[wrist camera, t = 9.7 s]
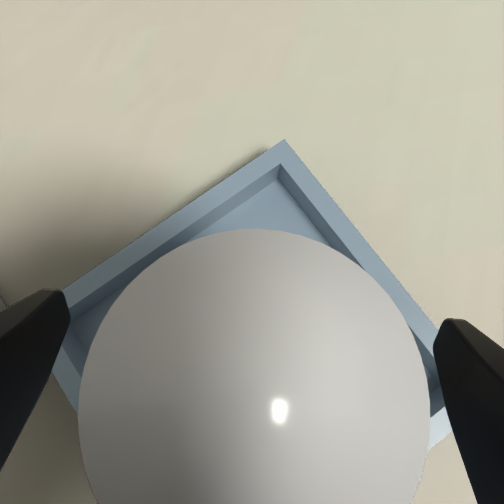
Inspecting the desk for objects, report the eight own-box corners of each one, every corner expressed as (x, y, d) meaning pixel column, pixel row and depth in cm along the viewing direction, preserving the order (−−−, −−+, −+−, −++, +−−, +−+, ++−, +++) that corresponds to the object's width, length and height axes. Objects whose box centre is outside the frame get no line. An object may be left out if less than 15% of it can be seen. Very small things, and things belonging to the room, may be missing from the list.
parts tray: (457, 386, 16) (492, 397, 14) (214, 584, 15) (206, 635, 13) (280, 163, 19) (284, 139, 16) (53, 319, 17) (20, 318, 15)
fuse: (315, 365, 16) (504, 439, 4) (239, 424, 15) (207, 701, 4) (260, 288, 17) (289, 171, 5) (185, 343, 16) (14, 355, 4)
